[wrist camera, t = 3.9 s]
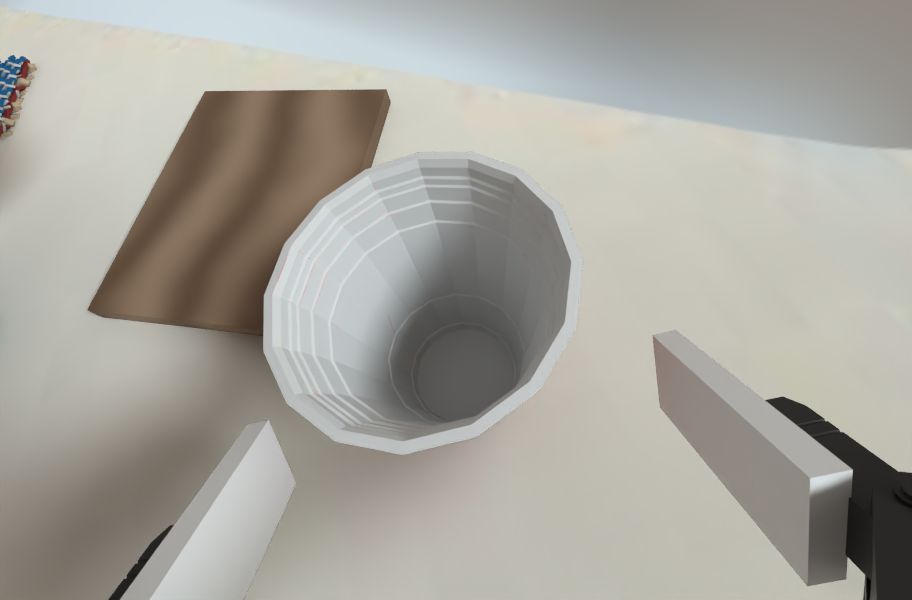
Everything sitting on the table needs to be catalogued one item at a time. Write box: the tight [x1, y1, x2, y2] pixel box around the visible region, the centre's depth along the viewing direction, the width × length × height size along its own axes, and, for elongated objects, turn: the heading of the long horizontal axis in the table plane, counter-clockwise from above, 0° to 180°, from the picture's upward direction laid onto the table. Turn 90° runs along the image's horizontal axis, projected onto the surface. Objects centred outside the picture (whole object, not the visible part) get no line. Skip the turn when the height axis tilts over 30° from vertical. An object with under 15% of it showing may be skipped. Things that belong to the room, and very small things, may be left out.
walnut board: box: [88, 89, 391, 335], centre depth 32 cm, size 16×20×1 cm
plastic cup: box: [263, 152, 583, 455], centre depth 20 cm, size 11×11×12 cm
